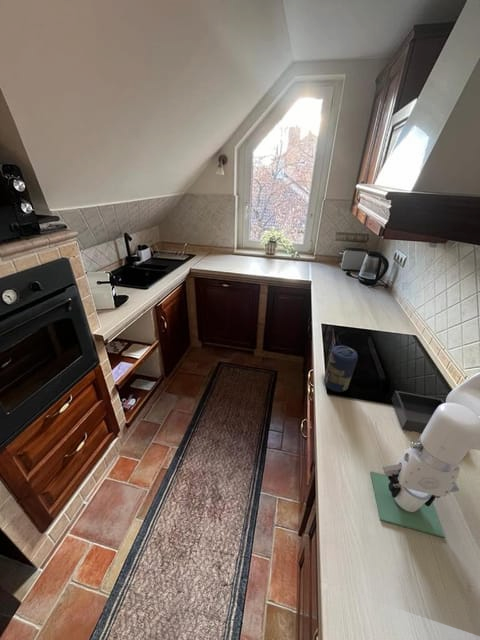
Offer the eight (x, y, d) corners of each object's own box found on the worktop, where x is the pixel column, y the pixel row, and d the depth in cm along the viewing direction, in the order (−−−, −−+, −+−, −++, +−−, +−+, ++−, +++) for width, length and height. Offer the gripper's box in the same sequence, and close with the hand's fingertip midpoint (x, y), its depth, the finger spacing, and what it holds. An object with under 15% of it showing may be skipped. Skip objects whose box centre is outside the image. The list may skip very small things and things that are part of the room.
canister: (321, 376, 107) (330, 340, 98) (344, 378, 106) (355, 343, 97) (325, 392, 99) (334, 355, 90) (350, 395, 98) (362, 358, 89)
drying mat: (424, 485, 69) (425, 484, 69) (444, 538, 59) (445, 537, 59) (370, 472, 72) (370, 471, 72) (379, 520, 62) (380, 519, 62)
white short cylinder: (384, 491, 67) (393, 476, 63) (402, 481, 69) (411, 466, 66) (408, 520, 61) (419, 505, 58) (427, 507, 64) (438, 492, 60)
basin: (436, 408, 93) (442, 398, 91) (454, 440, 82) (461, 430, 80) (391, 399, 97) (395, 390, 94) (401, 429, 85) (406, 419, 83)
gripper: (398, 458, 54) (374, 501, 63) (493, 480, 50) (454, 522, 59) (389, 429, 60) (368, 472, 69) (473, 446, 57) (440, 489, 66)
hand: (408, 495), depth 64 cm, fingers closed on white short cylinder, 6 cm apart
